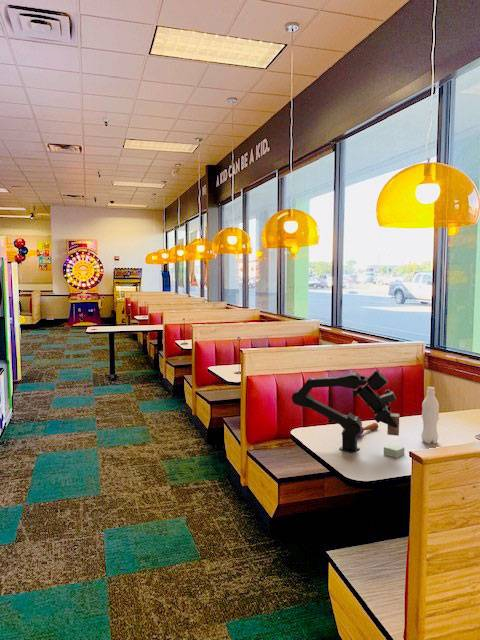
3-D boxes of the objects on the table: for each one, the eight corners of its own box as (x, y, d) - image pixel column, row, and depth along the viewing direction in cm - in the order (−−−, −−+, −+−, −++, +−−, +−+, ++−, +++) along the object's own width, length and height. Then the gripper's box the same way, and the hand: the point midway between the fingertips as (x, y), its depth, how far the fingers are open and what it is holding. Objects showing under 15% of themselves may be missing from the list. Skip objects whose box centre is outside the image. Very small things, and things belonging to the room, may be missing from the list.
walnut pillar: (387, 434, 201) (387, 415, 200) (387, 431, 205) (388, 412, 204) (398, 435, 199) (399, 416, 199) (398, 432, 204) (399, 413, 203)
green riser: (396, 457, 199) (396, 450, 198) (383, 454, 203) (383, 447, 203) (404, 454, 203) (404, 447, 202) (391, 450, 207) (391, 443, 207)
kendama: (381, 422, 234) (358, 428, 220) (379, 434, 235) (355, 440, 221) (371, 418, 238) (347, 423, 224) (368, 429, 239) (345, 435, 225)
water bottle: (439, 441, 218) (441, 386, 216) (436, 445, 212) (437, 390, 210) (423, 438, 222) (424, 384, 220) (419, 442, 216) (420, 388, 214)
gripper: (383, 390, 193) (412, 419, 190) (385, 380, 210) (411, 407, 208) (363, 407, 196) (390, 437, 194) (366, 396, 214) (391, 423, 211)
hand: (396, 425), depth 201 cm, fingers closed on walnut pillar, 4 cm apart
